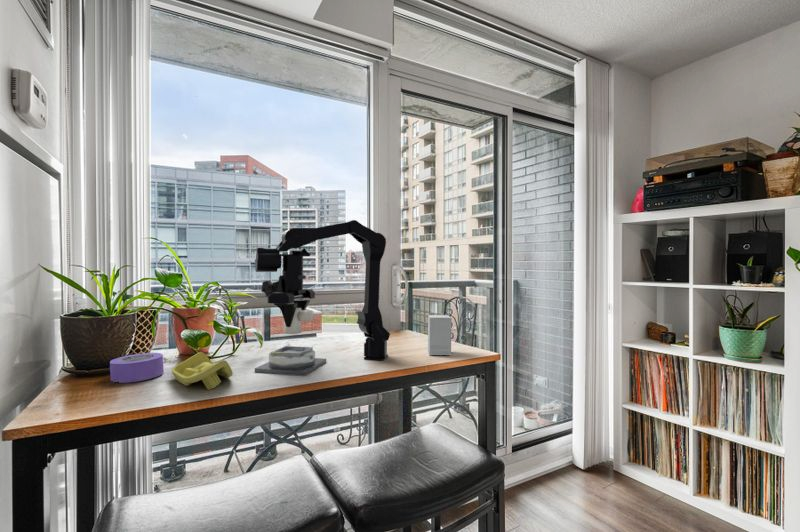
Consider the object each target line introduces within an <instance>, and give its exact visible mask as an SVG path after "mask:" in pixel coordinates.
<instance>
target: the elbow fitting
mask: <svg viewBox="0 0 800 532" xmlns="http://www.w3.org/2000/svg"><path fill="white" fill-rule="evenodd" d="M314 316H315V315H314V311H313V310H311V309H310V310H308V309H307V310H306V309H305V310H301V308H296V310H295V314H294V317H293V321H292V324H291V327H286V324H285V321H284V320H283V334H284V335H296V334H301V333H302V322H307V323H308V322H309V323H310V322H313V320H314Z"/></svg>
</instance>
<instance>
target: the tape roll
mask: <svg viewBox="0 0 800 532" xmlns="http://www.w3.org/2000/svg"><path fill="white" fill-rule="evenodd" d="M109 372H110V373H109V375H110V382H111V381H113V382H112V383H114V382H119V383H118V384H126V383H127V384H128V383H129V384H130V383H136V382H142V381H147V380H150V379H154V378H157V377H159V376H162V375H163V374H164V372H165V371H164V355H163V353H160V352H145V353H135V354H130V355H124V356H121V357H117V358H113V359H111V360H110V361H109Z"/></svg>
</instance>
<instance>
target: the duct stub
mask: <svg viewBox="0 0 800 532" xmlns="http://www.w3.org/2000/svg"><path fill="white" fill-rule="evenodd" d="M313 349H314V348H313V346H312V347H311V346H297V345H296V346H295V345H294V346H293V345H285V346H282V347H279V348H277V349H275V350H273V351H270V352H269V353H268V361H267V362H266V363H263V364H262V365H261V364H260V365H259V366H257V367H255V368H254V373H262V374H263V373H265V374H276V375H277V374H278V375H291V376H307V375H308V374H310V373H312V372H314V371H315V370H316V369H318V368H319V367H321V366H323V365H324V364H325V363H327V358H319V357H318V358H316V351H315V350H313Z"/></svg>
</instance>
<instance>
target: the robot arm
mask: <svg viewBox="0 0 800 532" xmlns="http://www.w3.org/2000/svg"><path fill="white" fill-rule="evenodd" d="M343 235H350V236H351V237H353V239H354V240H356V242H358V243H360V244H361V247H362V253H363V256H364V259H365V274H364V275H365V277H364V279H365V280H364V298H363V299H364V301H363V302H364V304H363V308H362V309H361V311H360V310H358V311H357V321H356V325H357V324H358V327H359V330H360V331H361V332H362V333H363V335H364V337H365V342H364V343H363V356H364V357H363V360H372V361H374V360H375V361H384V360H386V359H387V358H388V357H389V354H388V341H389V339H390V336H391V333H390V332H389V331H388V330H387V329H386V328H385V327H384V324H383V323H384V322H383V316H382V313H381V310H380V307H379V302H380V282H381V281H380V280H381V279H380V275H381V274H380V273H381V261H382V259H383V256H384V254H385V250H386V246H387V245H386V244H387V240H386V239H387V238H386V237H385V236H384V235H383V234H382V233H380V232H376V231H374V230H372V229H371V228H369V227H367V226H366V225H363V224H362V223H360V222H359V221H357V220H355V219H352V220H349V221H346V222H339V223H335V224H330V225H325V226H320V227H312V228H311V227H310V228H309V227H292V228H289V229H287V230H285V231H284V232H283V233H282V235H281V241H280V243H278V245H277V246H276V247H275V248H266V247H265V248H263V247H257V248H256V253H255V259H254V269H255V270H254V271H255V273H277V272H278V269H282V275H279V277H278V280H277V281H274V282H271V280H265V281H263V282H262V284H261V293H264V294H265V297H266V298H267V304H273V306H276V307H277V308H278V309H280V312H281V314H282V318H283V322H284V321H285V324H286V327H291V324H292V321H293V317H294V314H295V310H296V308H301V310H306V309H307V307H308V306H309V304H310V302H311V299H315V298H316V293H315V291H314V289H312V288H311V289H310V288H304V280H305V279H306V275H305V274H304V257H311V253H310V252H308V251H307V249H306V247H305V248H304V246H307V245H309V244H311V243H315V242H316V241H319V240H324V239H329V238H333V237H334V238H335V237H339V236H343ZM302 247H303V248H302ZM299 248H302V249H301V250H293V249H299ZM289 250H290V252H289V253H284V252H288V251H289Z"/></svg>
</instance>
